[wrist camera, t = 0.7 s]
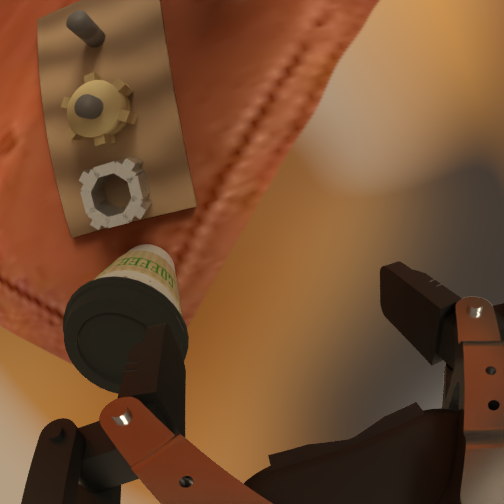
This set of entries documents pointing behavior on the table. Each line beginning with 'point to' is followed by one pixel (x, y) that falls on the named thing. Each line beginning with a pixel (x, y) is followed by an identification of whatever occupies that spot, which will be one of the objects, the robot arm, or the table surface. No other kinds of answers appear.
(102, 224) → the steel gear
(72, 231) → the gear board
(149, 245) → the coffee cup
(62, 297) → the table surface
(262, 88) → the table surface
